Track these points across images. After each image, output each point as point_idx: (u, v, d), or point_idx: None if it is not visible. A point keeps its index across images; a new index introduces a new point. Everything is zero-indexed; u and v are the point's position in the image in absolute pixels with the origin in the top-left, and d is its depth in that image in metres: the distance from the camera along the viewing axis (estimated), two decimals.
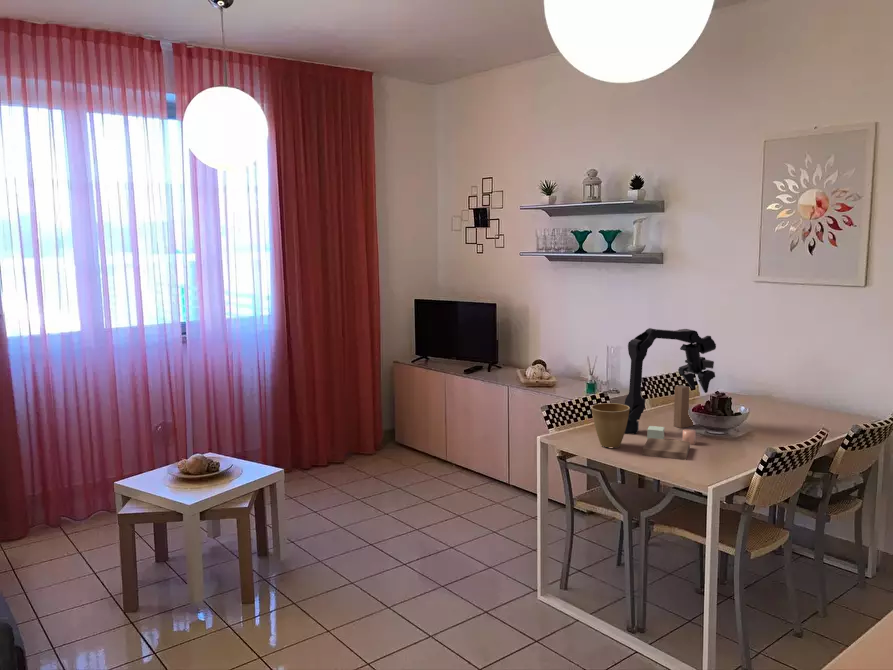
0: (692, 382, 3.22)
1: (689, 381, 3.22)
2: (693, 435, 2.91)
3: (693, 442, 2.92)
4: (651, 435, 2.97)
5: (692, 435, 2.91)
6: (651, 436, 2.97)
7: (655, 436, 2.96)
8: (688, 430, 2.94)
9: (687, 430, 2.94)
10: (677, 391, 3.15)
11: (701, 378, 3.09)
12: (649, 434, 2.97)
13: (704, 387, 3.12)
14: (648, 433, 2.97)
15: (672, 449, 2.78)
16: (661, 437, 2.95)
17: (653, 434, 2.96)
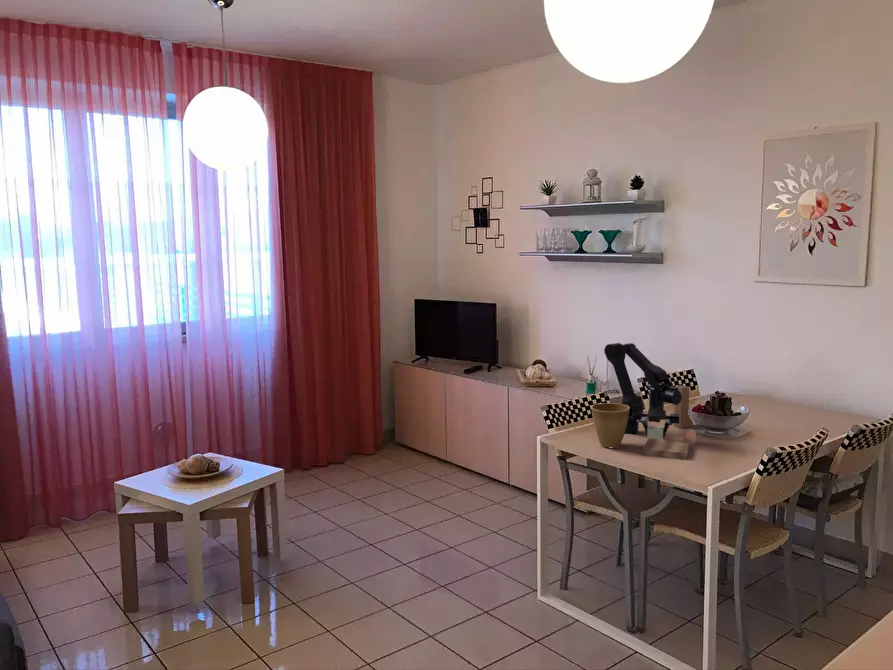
0: None
1: None
2: (693, 435, 2.91)
3: (693, 442, 2.92)
4: (651, 435, 2.97)
5: (692, 435, 2.91)
6: (651, 436, 2.97)
7: (655, 436, 2.96)
8: (688, 430, 2.94)
9: (687, 430, 2.94)
10: None
11: None
12: (649, 434, 2.97)
13: None
14: (648, 433, 2.97)
15: (672, 449, 2.78)
16: (661, 437, 2.95)
17: (653, 433, 2.96)
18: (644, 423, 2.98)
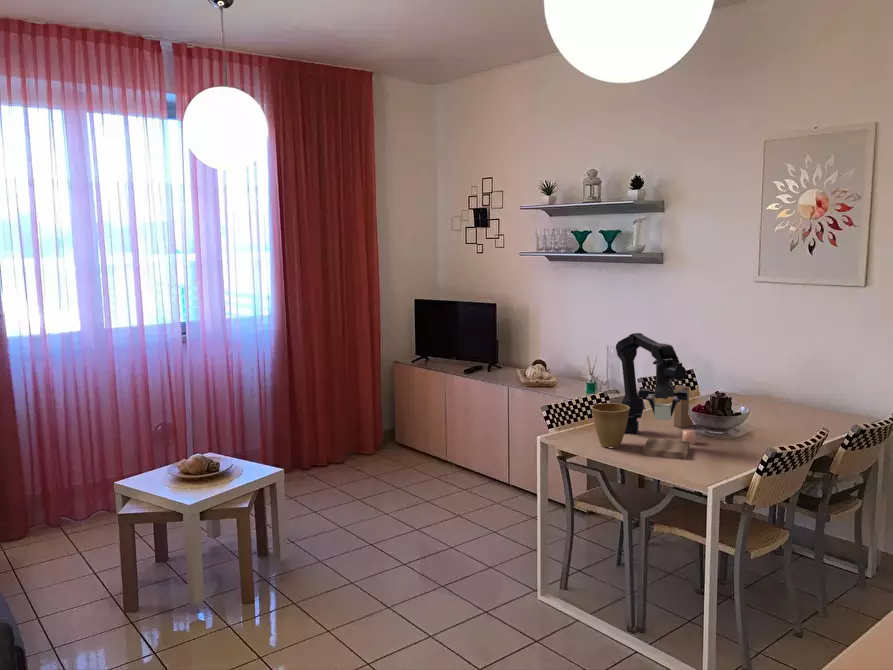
0: (671, 409, 2.87)
1: None
2: (693, 435, 2.91)
3: (693, 442, 2.92)
4: (658, 412, 2.86)
5: (692, 435, 2.91)
6: (658, 413, 2.86)
7: (662, 413, 2.86)
8: (688, 430, 2.94)
9: (687, 430, 2.94)
10: (677, 391, 3.15)
11: None
12: (656, 411, 2.87)
13: None
14: (655, 410, 2.87)
15: (672, 449, 2.78)
16: (669, 414, 2.85)
17: (661, 411, 2.86)
18: (651, 401, 2.88)
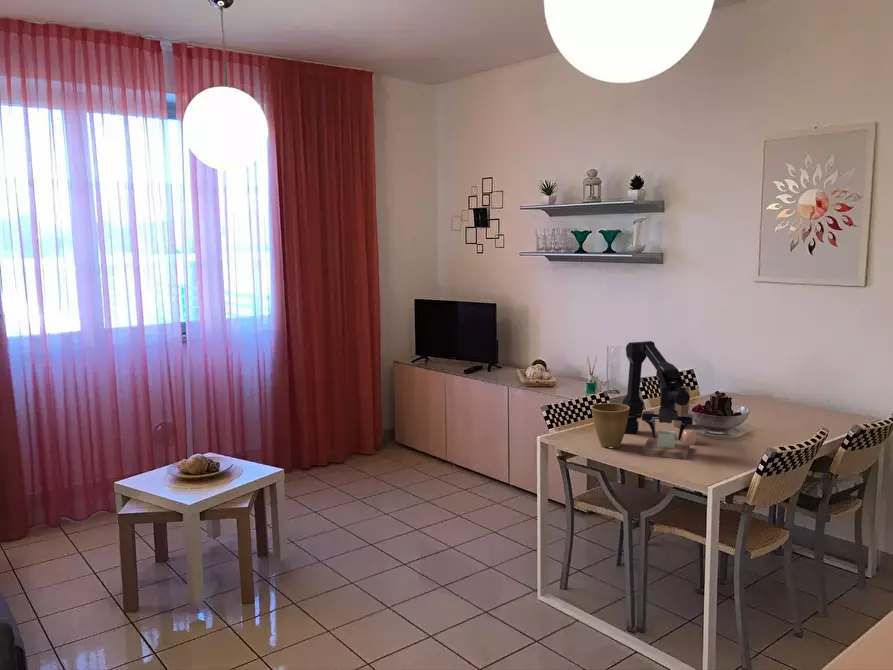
0: (679, 433, 2.80)
1: None
2: (693, 435, 2.91)
3: (693, 442, 2.92)
4: (661, 440, 2.80)
5: (692, 435, 2.91)
6: (662, 441, 2.80)
7: (666, 441, 2.80)
8: (688, 430, 2.94)
9: (687, 430, 2.94)
10: None
11: None
12: (659, 439, 2.81)
13: None
14: (659, 438, 2.81)
15: (672, 449, 2.78)
16: (672, 442, 2.79)
17: (664, 438, 2.80)
18: (651, 424, 2.82)
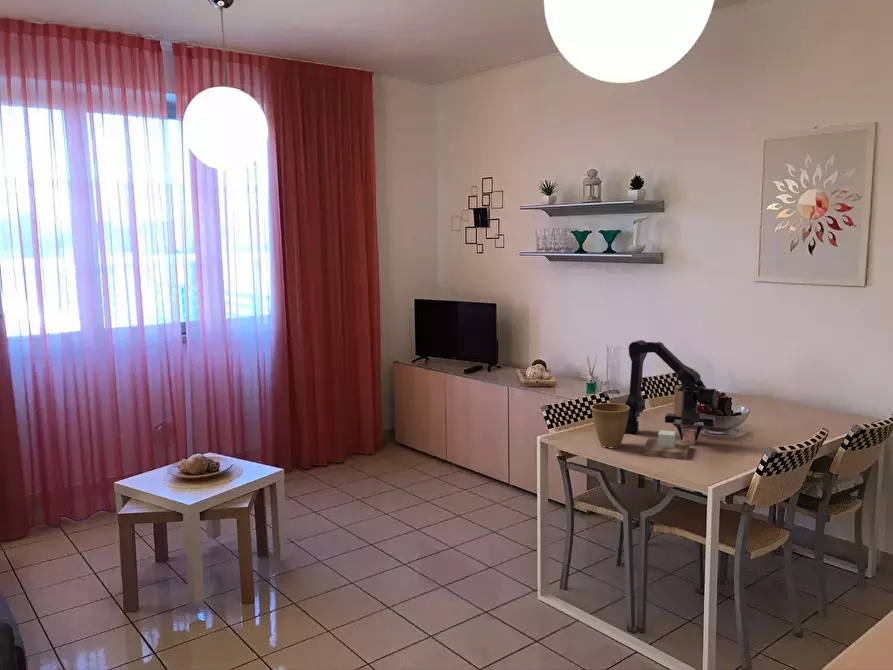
0: (696, 434, 2.92)
1: None
2: (693, 435, 2.91)
3: (693, 442, 2.92)
4: (661, 440, 2.80)
5: (692, 435, 2.91)
6: (662, 441, 2.80)
7: (666, 441, 2.80)
8: (688, 430, 2.94)
9: (687, 430, 2.94)
10: (677, 391, 3.15)
11: None
12: (659, 439, 2.81)
13: None
14: (659, 438, 2.81)
15: (672, 449, 2.78)
16: (672, 442, 2.79)
17: (664, 438, 2.80)
18: (678, 426, 2.93)
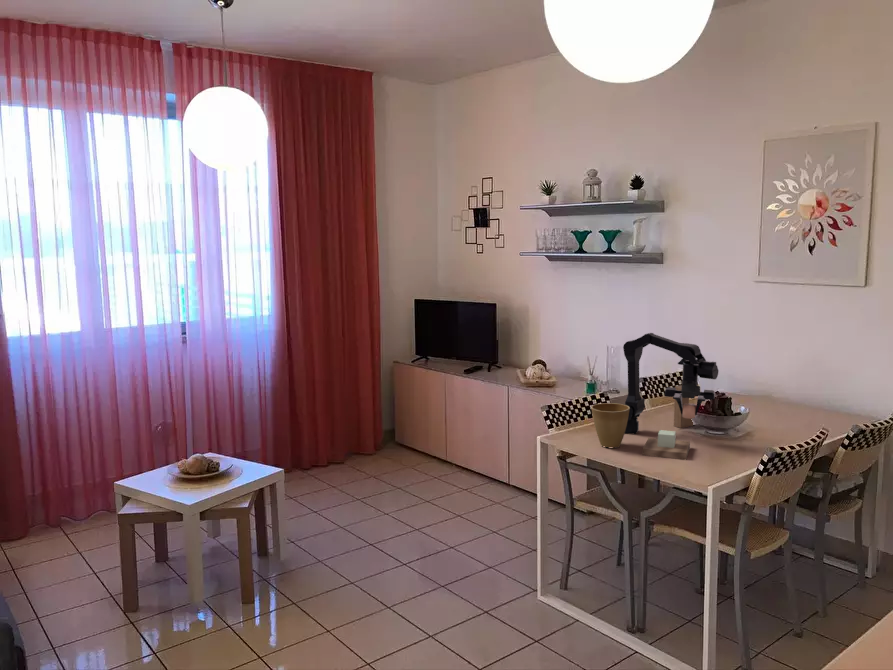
0: (696, 408, 2.90)
1: None
2: (693, 409, 2.89)
3: (693, 416, 2.90)
4: (661, 440, 2.80)
5: (692, 408, 2.89)
6: (662, 441, 2.80)
7: (666, 441, 2.80)
8: (688, 404, 2.92)
9: (687, 404, 2.92)
10: None
11: None
12: (659, 439, 2.81)
13: None
14: (659, 438, 2.81)
15: (672, 449, 2.78)
16: (672, 442, 2.79)
17: (664, 438, 2.80)
18: (678, 400, 2.90)
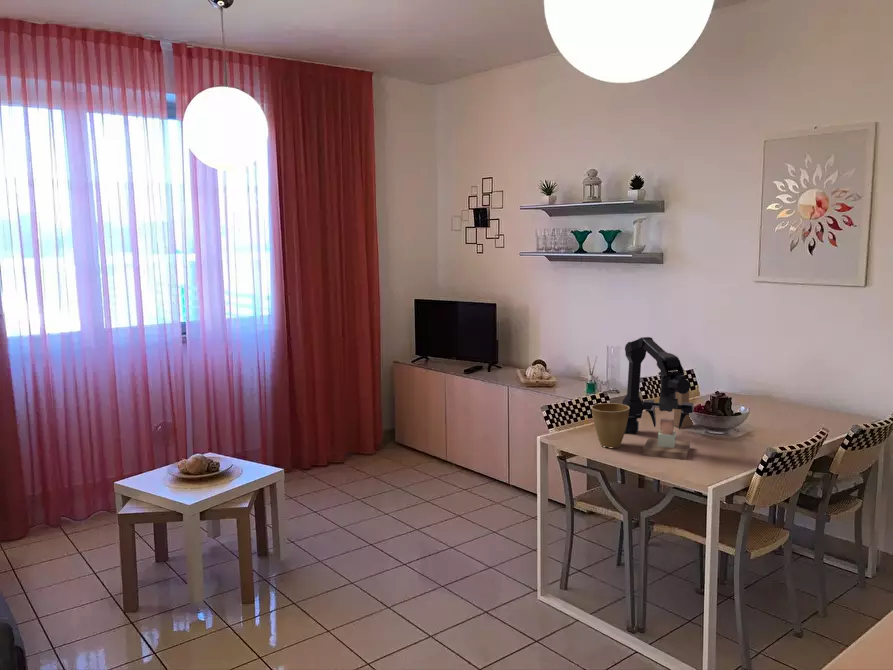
0: None
1: None
2: (671, 424, 2.79)
3: (671, 432, 2.80)
4: (661, 440, 2.80)
5: (669, 424, 2.79)
6: (662, 441, 2.80)
7: (666, 441, 2.80)
8: (666, 419, 2.82)
9: (665, 419, 2.82)
10: None
11: None
12: (659, 439, 2.81)
13: None
14: (659, 438, 2.81)
15: (672, 449, 2.78)
16: (672, 442, 2.79)
17: (664, 438, 2.80)
18: (651, 412, 2.81)
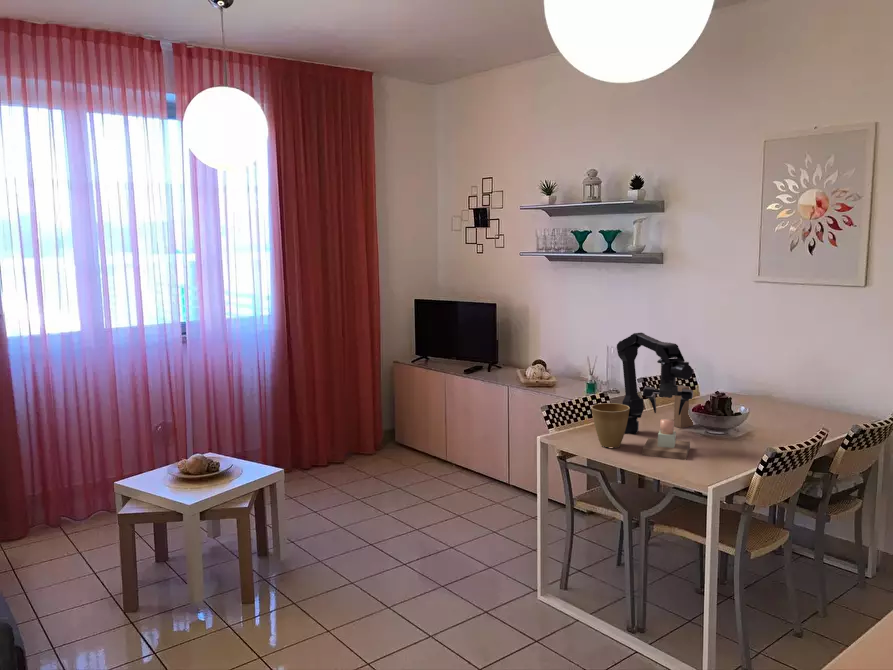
0: (679, 408, 2.87)
1: None
2: (671, 424, 2.79)
3: (671, 432, 2.80)
4: (661, 440, 2.80)
5: (669, 424, 2.79)
6: (662, 441, 2.80)
7: (666, 441, 2.80)
8: (666, 419, 2.82)
9: (665, 419, 2.82)
10: None
11: None
12: (659, 439, 2.81)
13: None
14: (659, 438, 2.81)
15: (672, 449, 2.78)
16: (672, 442, 2.79)
17: (664, 438, 2.80)
18: (651, 399, 2.88)
